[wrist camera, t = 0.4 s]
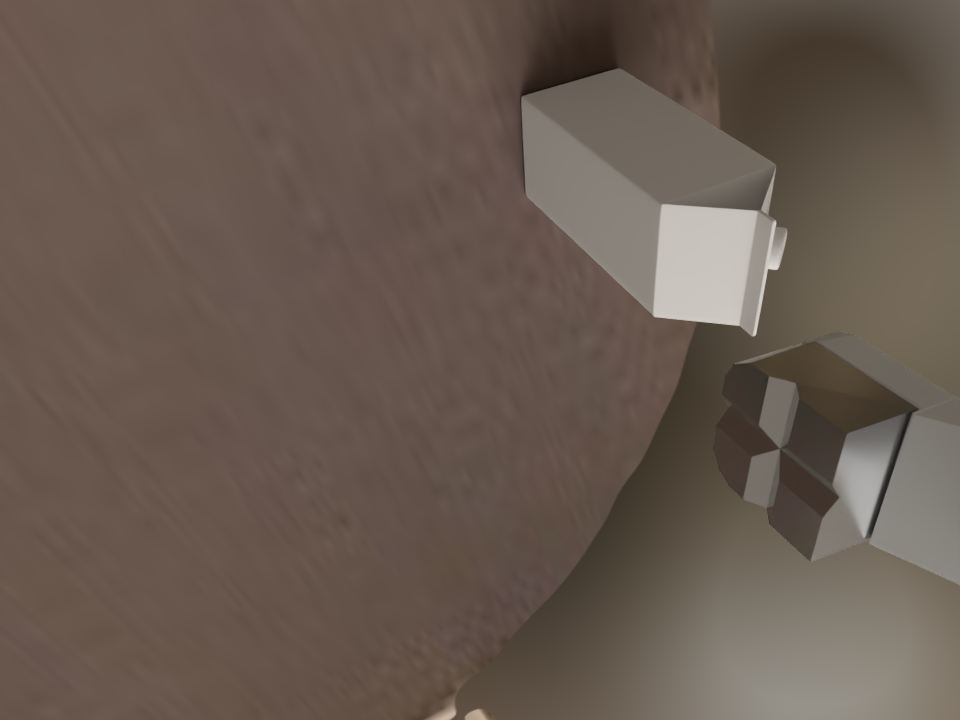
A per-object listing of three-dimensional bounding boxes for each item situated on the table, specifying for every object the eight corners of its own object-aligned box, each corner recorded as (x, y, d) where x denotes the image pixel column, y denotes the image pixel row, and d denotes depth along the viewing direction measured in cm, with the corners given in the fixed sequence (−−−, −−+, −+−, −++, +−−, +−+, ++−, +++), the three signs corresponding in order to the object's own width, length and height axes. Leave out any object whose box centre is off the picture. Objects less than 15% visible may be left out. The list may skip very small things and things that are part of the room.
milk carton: (524, 195, 57) (698, 359, 44) (519, 94, 52) (712, 243, 39) (615, 166, 59) (807, 314, 46) (618, 65, 54) (834, 198, 41)
